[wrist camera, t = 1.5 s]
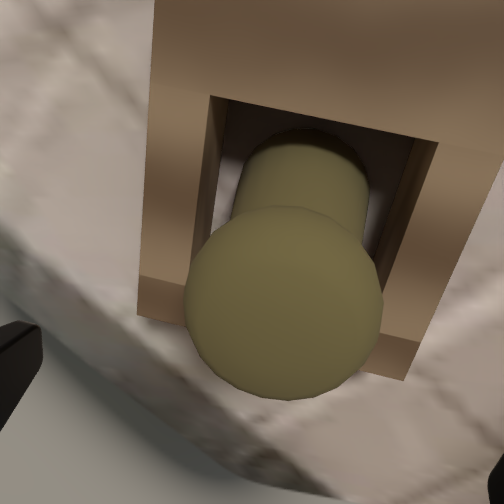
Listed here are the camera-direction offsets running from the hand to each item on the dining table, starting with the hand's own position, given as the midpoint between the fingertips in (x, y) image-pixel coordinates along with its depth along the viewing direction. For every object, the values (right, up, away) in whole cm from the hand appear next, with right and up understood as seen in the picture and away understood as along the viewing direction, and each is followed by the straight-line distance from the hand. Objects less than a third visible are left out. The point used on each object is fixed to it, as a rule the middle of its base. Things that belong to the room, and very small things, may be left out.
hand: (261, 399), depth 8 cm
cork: (+2, +5, +12) cm, 13 cm away
